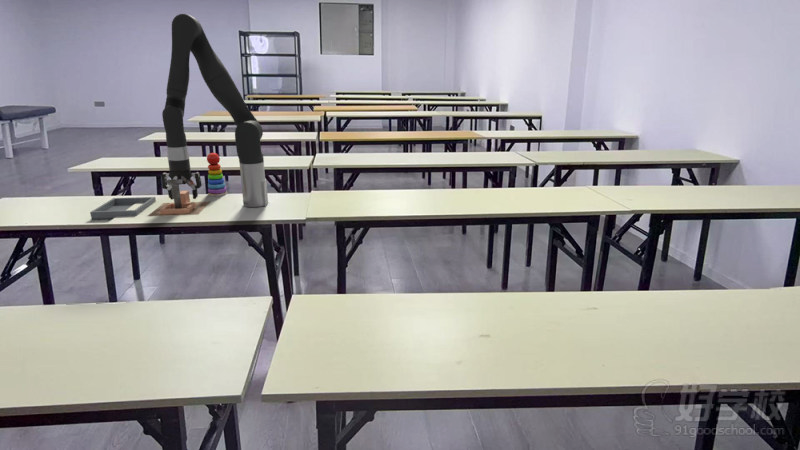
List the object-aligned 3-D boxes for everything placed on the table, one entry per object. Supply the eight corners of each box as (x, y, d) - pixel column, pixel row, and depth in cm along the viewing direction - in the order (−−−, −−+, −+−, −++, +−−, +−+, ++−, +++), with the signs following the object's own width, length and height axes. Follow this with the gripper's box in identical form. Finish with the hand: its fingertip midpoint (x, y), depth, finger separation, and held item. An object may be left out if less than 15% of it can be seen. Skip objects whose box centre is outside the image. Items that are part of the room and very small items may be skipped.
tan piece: (199, 202, 206) (197, 190, 205) (188, 213, 192) (186, 200, 191) (173, 203, 205) (171, 191, 204) (160, 214, 191) (158, 200, 190)
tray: (156, 204, 209) (155, 196, 208) (137, 218, 190) (136, 210, 189) (114, 205, 207) (113, 198, 206) (91, 220, 188) (90, 212, 187)
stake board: (210, 204, 208) (206, 173, 204) (198, 217, 191) (194, 183, 187) (164, 205, 206) (159, 174, 202) (147, 219, 189) (142, 184, 185)
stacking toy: (207, 195, 222) (202, 152, 217) (226, 193, 225) (222, 150, 220) (209, 199, 215) (203, 155, 210) (229, 197, 219) (224, 153, 213)
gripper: (200, 156, 203) (204, 196, 208) (162, 156, 201) (167, 196, 206) (195, 159, 196) (199, 201, 201) (155, 160, 194) (161, 201, 199)
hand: (183, 198), depth 203 cm, fingers open, 8 cm apart
